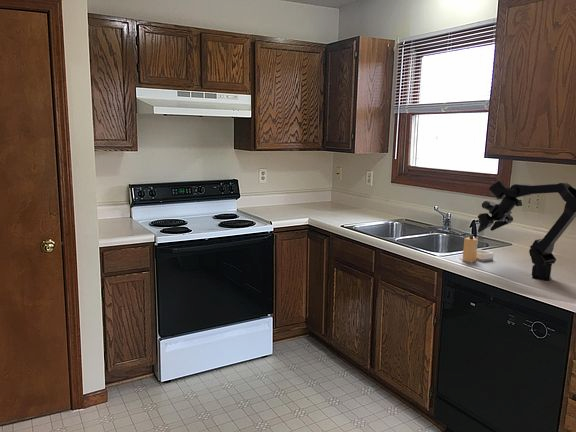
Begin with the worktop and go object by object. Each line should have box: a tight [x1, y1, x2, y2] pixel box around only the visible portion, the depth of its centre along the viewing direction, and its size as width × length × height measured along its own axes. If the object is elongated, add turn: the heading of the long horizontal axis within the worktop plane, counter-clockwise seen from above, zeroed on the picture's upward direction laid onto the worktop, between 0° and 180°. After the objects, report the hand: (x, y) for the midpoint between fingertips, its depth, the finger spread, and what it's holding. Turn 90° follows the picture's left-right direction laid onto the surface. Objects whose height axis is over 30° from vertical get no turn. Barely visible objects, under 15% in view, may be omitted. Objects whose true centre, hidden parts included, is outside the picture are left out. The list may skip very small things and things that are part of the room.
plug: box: [462, 233, 479, 263], centre depth 222 cm, size 4×4×12 cm
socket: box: [476, 249, 494, 263], centre depth 227 cm, size 7×7×4 cm
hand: (484, 231), depth 222 cm, fingers open, 9 cm apart
